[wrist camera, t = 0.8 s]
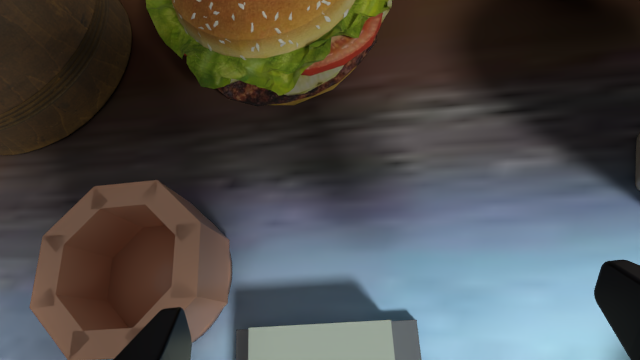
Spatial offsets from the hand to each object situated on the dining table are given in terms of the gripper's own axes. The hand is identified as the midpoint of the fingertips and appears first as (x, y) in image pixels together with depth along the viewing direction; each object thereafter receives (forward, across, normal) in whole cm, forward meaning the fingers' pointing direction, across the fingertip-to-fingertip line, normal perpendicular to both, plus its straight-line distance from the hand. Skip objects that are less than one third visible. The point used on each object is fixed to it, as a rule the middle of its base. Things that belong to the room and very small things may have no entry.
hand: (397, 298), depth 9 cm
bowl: (+13, +10, +9) cm, 18 cm away
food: (+24, +2, -2) cm, 24 cm away
